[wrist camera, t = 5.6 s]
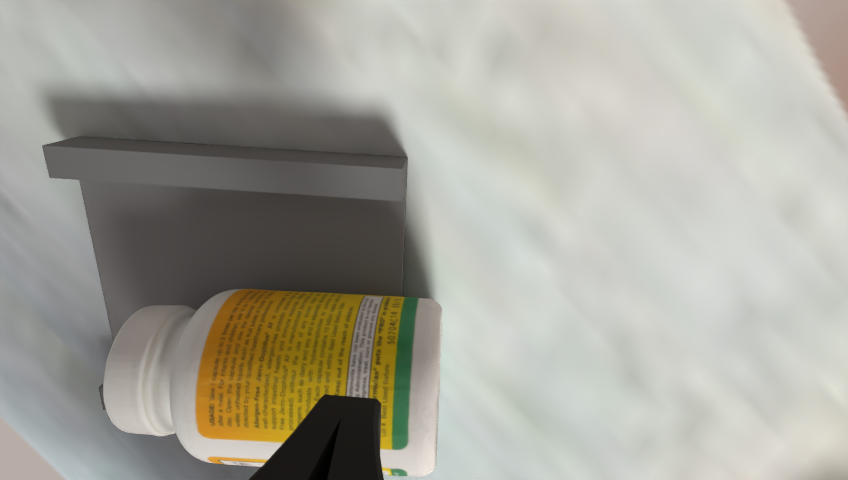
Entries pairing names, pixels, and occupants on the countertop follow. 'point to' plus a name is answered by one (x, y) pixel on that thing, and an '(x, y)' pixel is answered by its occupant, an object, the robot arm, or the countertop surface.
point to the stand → (234, 220)
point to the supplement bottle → (278, 372)
